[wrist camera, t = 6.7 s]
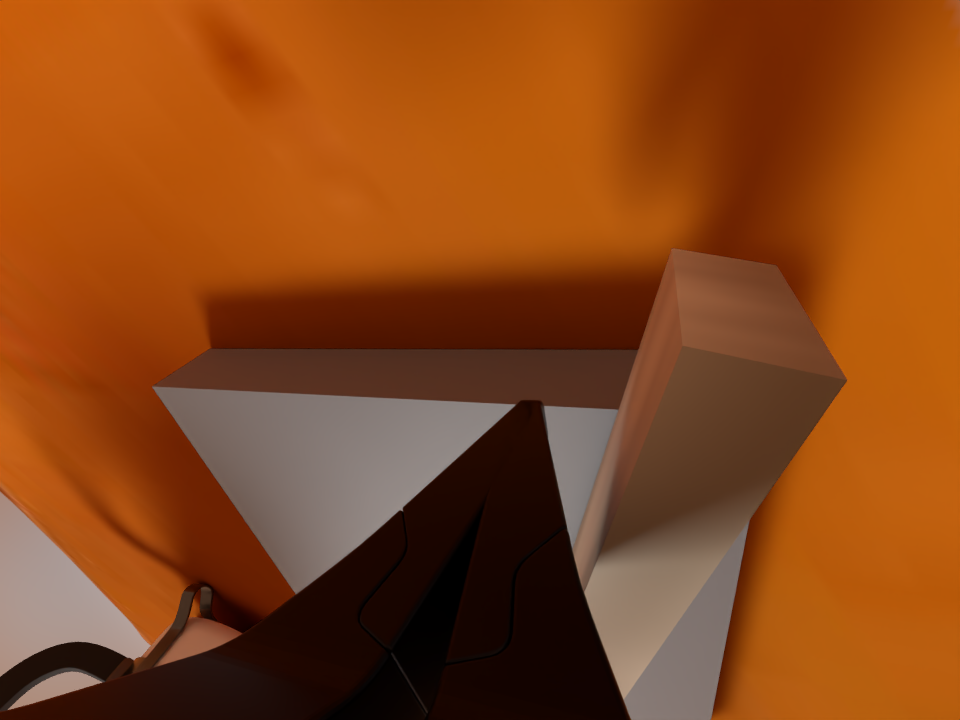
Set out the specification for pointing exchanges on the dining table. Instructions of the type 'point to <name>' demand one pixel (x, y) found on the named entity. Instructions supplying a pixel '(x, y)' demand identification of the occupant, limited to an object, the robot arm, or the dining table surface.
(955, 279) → the dining table surface
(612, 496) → the lever
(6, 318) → the dining table surface
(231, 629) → the coffee press
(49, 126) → the dining table surface
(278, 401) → the board
